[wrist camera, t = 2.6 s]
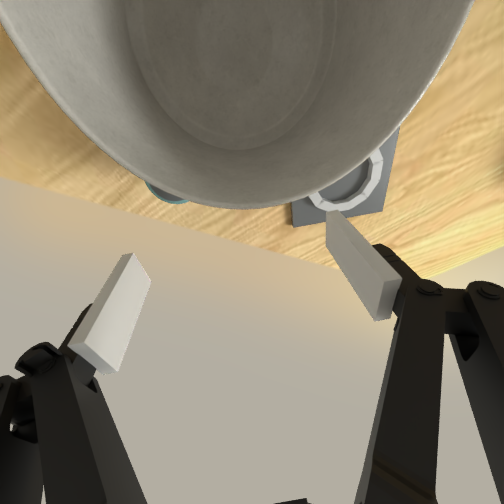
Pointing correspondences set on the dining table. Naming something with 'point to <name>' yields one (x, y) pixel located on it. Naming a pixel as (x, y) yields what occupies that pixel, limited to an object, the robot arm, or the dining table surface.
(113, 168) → the dining table surface
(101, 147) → the planter
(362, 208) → the holder
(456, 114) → the dining table surface
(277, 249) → the dining table surface
